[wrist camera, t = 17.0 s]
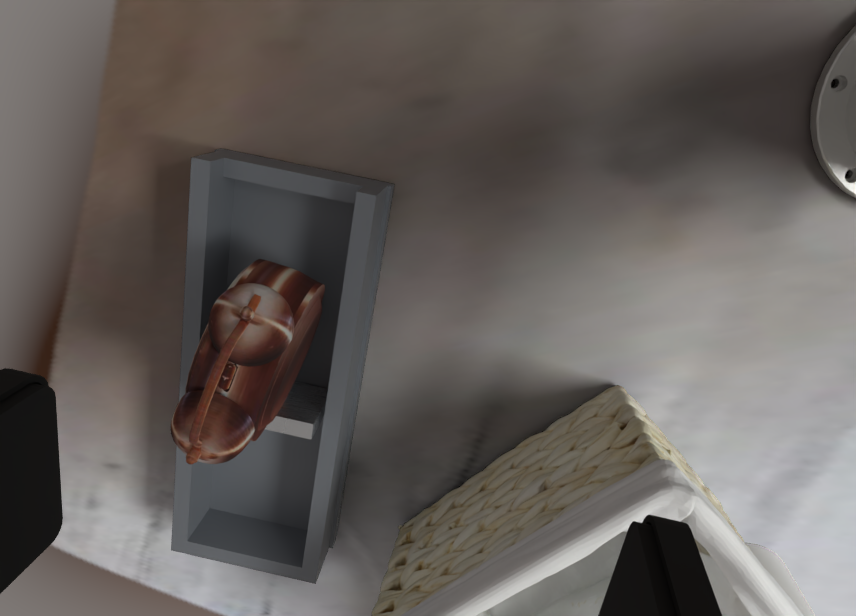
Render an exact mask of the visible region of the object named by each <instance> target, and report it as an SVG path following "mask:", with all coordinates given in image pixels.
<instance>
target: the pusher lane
mask: <svg viewBox="0 0 856 616" xmlns="http://www.w3.org/2000/svg"><path fill="white" fill-rule="evenodd" d="M393 191H394V184H392V183H387V182H382V181H377V180H372V179H367V178H363V177H358V176H353V175H348V174H343V173H338V172H333V171H329V170H324V169H319V168H314V167H309V166H304V165H299V164H295V163H290V162H285V161H280V160H275V159H270V158H265V157H261V156H256V155H251V154H246V153H241V152H236V151H231V150H226V149H222V148H221V149H216V150H215V152H212V153H208V154H204V155H200V156H196V157H191V174H190V194H189V213H188V233H187V252H186V272H185V291H184V311H183V330H182V349H181V369H180V388H179V401H180V399H181V398H182V397H183V396H184V395H185V390H186V384H187V379H188V374H189V370H190V367H191V364H192V361H193V358H194V355H195V352H196V350H197V348H198V345H199V343H200V340H201V338H202V335H203V333H204V331H205V329H206V327H207V325H208V320H209V316H210V312H211V309H212V307H213V305H214V303H215V302H216V300H217V299H218V298H219V297H220V296H221V295H222V294H223V293H224V292H225V291H227V289H228V288H229V287H230V285H231V284H232V282H233V281H234V280H235V279H236V277H237V276H238V275H239V274H240V273H241V272H242V271H243V270H244V269H245V268H246V267H248V266H249V265H251V264H252V263H253V262H254V261H256V260H258V259H264V260H267V261H271V262H274V263H277V264H280V265H284V266H287V267H290V268H293V269H295V270H297V271H300V272H302V273H303V274H305V275H307V276H309V277H310V278H312V279H314V280H316V281H317V282H320V283H322V284H324V285H325V292H324V296H323V300H322V313H321V317H320V321H319V324H318V327H317V330H316V332H315V335H314V338H313V340H312V343H311V345H310V348H309V350H308V353H307V355H306V357H305V360H304V362H303V364H302V367H301V369H300V371H299V373H298V375H297V378H296V380H295V382H298V383H303V384H308V385H312V386H317V387H321V388H326V389H328V392H327V399H326V406H325V413H324V417H323V419H322V420H321V422H320V424H319V426H318V428H317V430H316V432H315V434H314V435H313V437H312V439H306V438H302V437H297V436H293V435H288V434H284V433H279V432H275V431H270V430H266V429H264V431H263V432H262V434H261V435H260V436H259V438H258V439H257V440H256V441H250V442H249V444H248V445H247V446H246V447H245V448H244V449H243V451H242V452H241V453H240V454H238V455H237V456H236V457H235V458H233V459H231V460H230V461H228V462H224V463H219V464H207V463H202V462H199V461H197V462H196V463H194V464H191V465H190V464H188V463H187V462H186V454H184V453H183V452H182V451H181V450H180V449H179V448H178V446H177V447H176V466H175V486H174V505H173V524H172V544H171V550H173V551H177V552H181V553H186V554H190V555H194V556H198V557H203V558H207V559H211V560H216V561H220V562H224V563H229V564H233V565H237V566H241V567H246V568H250V569H254V570H259V571H263V572H267V573H272V574H276V575H280V576H284V577H289V578H293V579H297V580H302V581H306V582H310V583H315V584H316V581H317V579H318V576H319V573H320V571H321V568H322V565H323V562H324V560H325V557H326V554H327V552H328V549H329V548H333V546H334V543H335V540H336V535H337V529H338V523H339V517H340V511H341V505H342V499H343V493H344V486H345V480H346V474H347V468H348V462H349V456H350V450H351V444H352V438H353V432H354V426H355V420H356V414H357V408H358V402H359V396H360V390H361V384H362V378H363V372H364V366H365V360H366V354H367V348H368V342H369V335H370V329H371V323H372V317H373V311H374V305H375V299H376V293H377V287H378V281H379V275H380V269H381V263H382V257H383V251H384V245H385V239H386V233H387V227H388V221H389V215H390V209H391V203H392V197H393Z"/></svg>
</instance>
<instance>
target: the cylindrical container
mask: <svg viewBox="0 0 856 616" xmlns="http://www.w3.org/2000/svg"><path fill="white" fill-rule="evenodd" d="M745 544H747V545H748V546H749V548H750V550H751V552H752V553H753V554H754V555H755V556H756V558H757V559H758V561H759V562H760V563H761V564H762V566H763V567H764V568H765V569H766V570H767V571H768V572H769V573H770V574H771V576H772V577H773V578H774V579H775V580H776V581H777V583H778V584H779V585H780V586H781V587H782V589H783V590H784V591H785V592H786V593H787V595H788V596H789V597H790V598H791V599H792V600H793V602H794V603H795V605H796V606H797V607H798V609H799V610H800V611H801V612H802V613H803V614H804V615H805V616H815V614H814V612H813V610H812V609H811V607H810V605H809V604H808V602H807V600H806V599H805V597H804V595H803V593H802V592H801V590H800V588H799V587H798V585H797V583H796V582H795V580H794V578H793V576H792V575H791V573H790V571H789V570H788V568H787V566H786V565H785V563H784V562H783V560H782V559H781V558H780V557H779V556H778V555H777V554H776V553H775V552H773V551H771V550H770V549H768V548H766V547H763V546H760V545H757V544H750V543H745Z"/></svg>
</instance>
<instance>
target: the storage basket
mask: <svg viewBox="0 0 856 616" xmlns="http://www.w3.org/2000/svg"><path fill="white" fill-rule="evenodd" d="M647 515H654V516H658V517H662V518H667V519H671V520H676V521H680V522H684V523H686V524H688V525H689V527H690V529H691V531H692V534H693V536H694V539H695V542H696V545H697V548H698V550H699V553H700V556H701V559H702V561H703V564H704V567H705V570H706V572H707V575H708V578H709V581H710V583H711V586H712V589H713V592H714V595H715V597H716V600H717V603H718V606H719V608H720V611H721V614H722V616H805V615H804V614H803V613H802V612H801V611H800V610H799V609H798V607H797V606H796V605H795V603H794V602H793V600H792V599H791V598H790V597H789V596H788V595H787V593H786V592H785V591H784V590H783V589H782V587H781V586H780V585H779V584H778V583H777V581H776V580H775V579H774V578H773V577H772V576H771V574H770V573H769V572H768V571H767V570H766V569H765V568H764V567H763V566H762V564H761V563H760V562H759V561H758V559H757V558H756V556H755V555H754V554H753V553H752V552H751V550H750V548H749V546H748V545H747V544H745V543H744V540H743V539H742V537H741V536H740V535H739V534H738V532H737V530H736V529H735V527H734V526H733V525H732V523H731V522H730V519H729V517H728V516H727V514H726V513H725V512H724V511H723V508H722V505H721V503H720V502H719V501H718V499H717V498H716V497H715V495H714V494H713V493H712V492H711V491H710V490H709V489H708V488H707V487H706V486H705V485H704V483H703V482H702V480H701V479H700V477H699V476H698V475H697V474H696V473H695V472H694V470H693V469H692V468H691V467H690V466H688V464H687V463H686V460H685V459H684V457H683V456H682V455H681V454H680V452H679V451H678V450H677V449H676V448H675V447H674V446H673V445H672V444H671V443H670V442H669V441H668V440H667V438H666V437H665V435H664V434H663V433H662V431H661V430H660V429H659V428H658V427H657V426H656V425H655V423H654V422H653V421H652V420H650V419H649V418H648V416H647V414H646V412H645V410H644V409H643V408H642V406H641V405H640V404H639V403H638V402H637V401H636V400H635V399H633V398H632V397H631V396H630V395H629V394H627V392H626V390H625V389H624V388H623V387H621V386H619V385H617V386H614V387H611V388H608V389H606V390H605V391H604V392H602V393H601V394H599V395H598V396H596V397H595V398H593V399H592V400H589V401H587V402H586V403H584V404H582V406H580V407H578V408H577V409H576V410H575V411H573V412H572V413H570V414H569V415H566V416H564V417H562V418H560V419H558V420H556V421H555V422H554V423H553V424H551V425H550V426H549V427H548V428H547V429H546V430H545V431H543V432H542V433H538V434H536V435H533V436H531V437H529V438H527V439H525V440H524V441H522V442H521V443H520V444H519V445H518V446H517V447H516V448H515V449H513V450H511V451H509V452H507V453H505V454H503V455H502V456H500V457H499V458H497V459H496V460H495V461H493V462H492V463H491V464H490V465H488V466H487V467H486V468H485V469H484V470H483V471H481V472H479V473H477V474H476V475H474V476H473V477H471V478H470V479H468V480H467V481H466V482H465V483H464V484H463V485H462V486H461V487H459V488H457V489H454V490H452V491H450V492H449V493H447V494H446V495H445V496H443V497H442V498H441V499H440V500H439V501H438V502H436V503H435V504H433V505H432V506H431V507H429V508H426V509H424V510H423V511H422V512H421V513H420V514H419V515H417V516H416V517H414V518H412V519H411V520H410V521H408V522H406V523H404V525H403V526H402V525H400V526H398V528H399V529H400V532H399V534H398V538H397V540H396V542H395V548H394V550H393V552H392V556H391V558H390V560H389V563H388V571H387V573H386V575H385V576H384V578H383V582H382V584H381V590H380V594H379V598H378V601H377V603H376V605H375V607H374V609H373V611H372V616H598V615H599V612H600V609H601V606H602V603H603V600H604V597H605V594H606V592H607V589H608V586H609V583H610V580H611V577H612V574H613V571H614V569H615V566H616V563H617V560H618V557H619V554H620V551H621V549H622V546H623V543H624V540H625V537H626V534H627V531H628V529H629V526H630V524H631V523H632V522H633V521H636V522H640V523H642V522H643V520H644V518H645V517H646V516H647Z"/></svg>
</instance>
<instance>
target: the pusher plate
mask: <svg viewBox="0 0 856 616" xmlns="http://www.w3.org/2000/svg"><path fill="white" fill-rule="evenodd" d="M327 392H328V389H326V388H321V387H317V386H312V385H308V384H303V383H298V382H294V384H293V386H292V388H291V390H290V392H289V394H288V396H287V398H286V400H285V402H284V403H283V405H282V407H281V409H280V411H279V412H278V414H277V415H276V417H275V418H274V420H273V421H272V422H271V423H270V424H268V425H267V426H266V428H265V429H266V430H270V431H275V432H279V433H284V434H288V435H293V436H297V437H302V438H306V439H312V437H313V435H314V434H315V432H316V430H317V428H318V426H319V424H320V422H321V420H322V419H323V417H324V413H325V406H326V399H327Z"/></svg>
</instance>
